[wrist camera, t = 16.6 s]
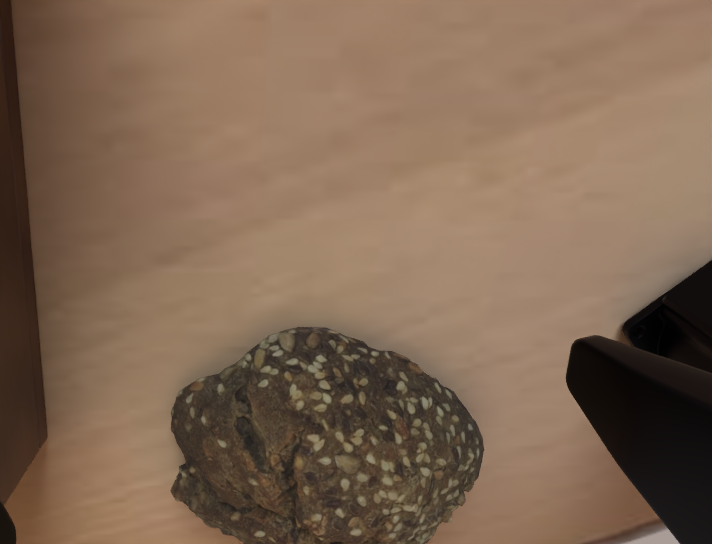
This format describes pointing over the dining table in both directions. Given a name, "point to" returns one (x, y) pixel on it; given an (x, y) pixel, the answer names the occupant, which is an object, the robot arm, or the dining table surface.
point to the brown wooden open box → (16, 290)
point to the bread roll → (324, 445)
